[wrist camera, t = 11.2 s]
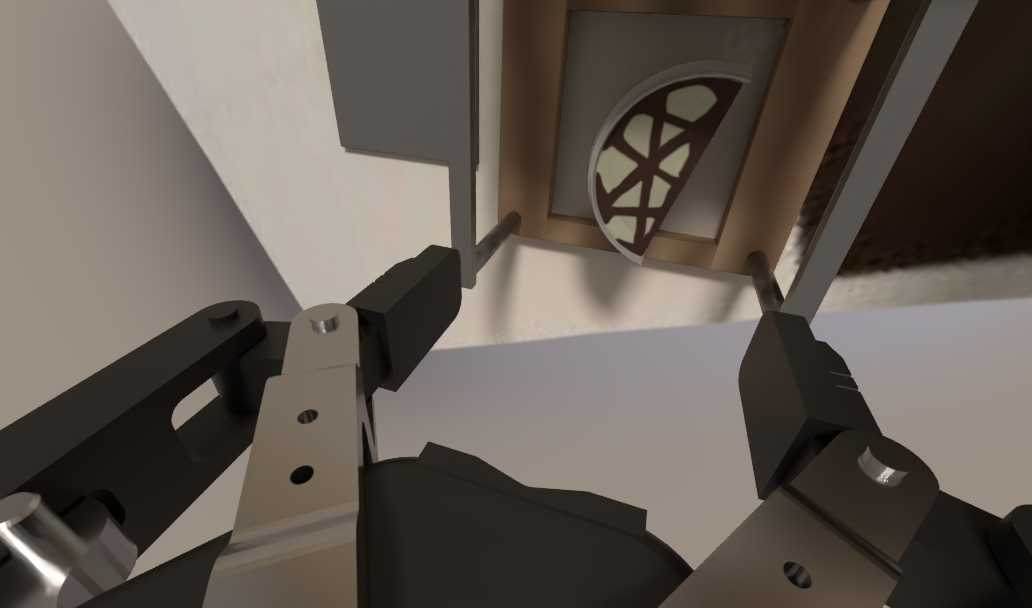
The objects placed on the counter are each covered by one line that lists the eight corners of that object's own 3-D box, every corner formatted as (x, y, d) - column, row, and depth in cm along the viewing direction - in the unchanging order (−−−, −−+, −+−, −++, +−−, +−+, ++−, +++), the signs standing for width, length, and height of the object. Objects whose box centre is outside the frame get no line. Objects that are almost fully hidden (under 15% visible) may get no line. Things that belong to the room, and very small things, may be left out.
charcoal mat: (478, -37, 30) (475, -38, 30) (478, 163, 38) (476, 164, 37) (314, -40, 34) (309, -41, 33) (345, 145, 41) (340, 146, 41)
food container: (651, 26, 29) (641, 20, 21) (736, 61, 28) (758, 69, 20) (580, 190, 36) (551, 232, 28) (646, 219, 36) (637, 272, 28)
